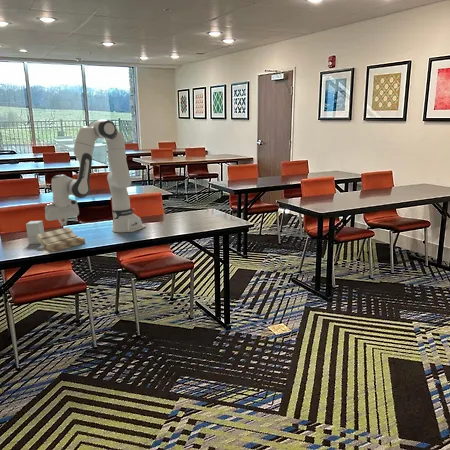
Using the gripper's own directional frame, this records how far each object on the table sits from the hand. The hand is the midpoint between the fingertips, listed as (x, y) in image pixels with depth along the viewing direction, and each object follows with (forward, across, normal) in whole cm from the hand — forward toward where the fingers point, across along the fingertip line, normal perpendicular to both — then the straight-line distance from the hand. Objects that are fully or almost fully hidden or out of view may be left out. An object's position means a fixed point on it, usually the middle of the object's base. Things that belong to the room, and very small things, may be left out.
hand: (63, 225), depth 249 cm
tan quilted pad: (+7, -5, 0) cm, 9 cm away
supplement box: (+10, -10, +13) cm, 20 cm away
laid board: (+10, -5, -10) cm, 15 cm away
